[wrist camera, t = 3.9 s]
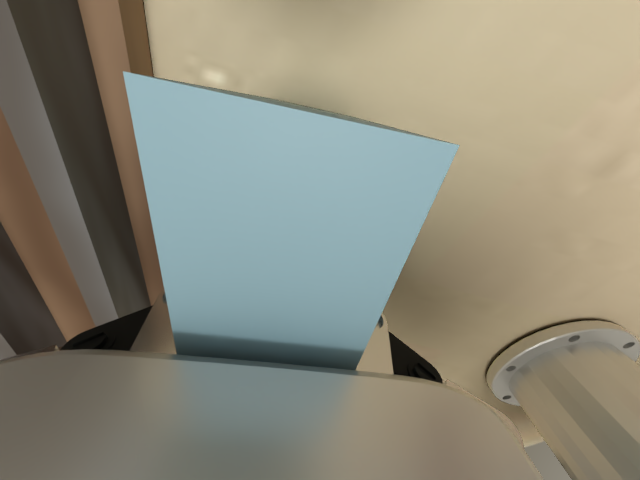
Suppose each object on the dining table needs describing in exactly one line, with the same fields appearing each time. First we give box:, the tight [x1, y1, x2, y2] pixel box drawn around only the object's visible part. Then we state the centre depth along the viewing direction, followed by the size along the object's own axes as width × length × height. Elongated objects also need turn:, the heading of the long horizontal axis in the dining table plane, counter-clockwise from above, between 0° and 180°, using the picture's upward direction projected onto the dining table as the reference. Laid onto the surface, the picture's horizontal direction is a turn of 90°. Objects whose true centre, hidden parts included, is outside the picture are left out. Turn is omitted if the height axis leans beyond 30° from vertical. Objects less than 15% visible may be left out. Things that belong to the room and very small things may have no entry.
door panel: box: [123, 71, 459, 370], centre depth 10 cm, size 4×14×10 cm, turn 169°
